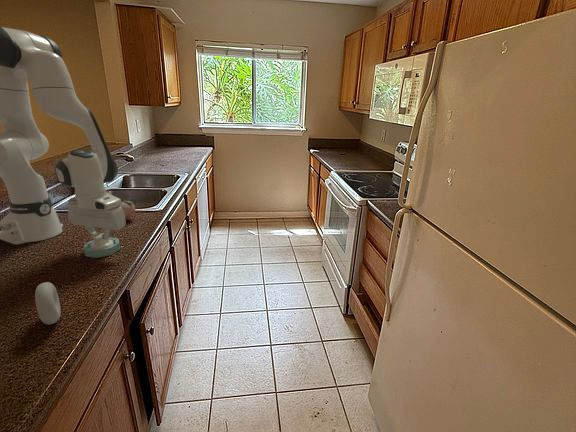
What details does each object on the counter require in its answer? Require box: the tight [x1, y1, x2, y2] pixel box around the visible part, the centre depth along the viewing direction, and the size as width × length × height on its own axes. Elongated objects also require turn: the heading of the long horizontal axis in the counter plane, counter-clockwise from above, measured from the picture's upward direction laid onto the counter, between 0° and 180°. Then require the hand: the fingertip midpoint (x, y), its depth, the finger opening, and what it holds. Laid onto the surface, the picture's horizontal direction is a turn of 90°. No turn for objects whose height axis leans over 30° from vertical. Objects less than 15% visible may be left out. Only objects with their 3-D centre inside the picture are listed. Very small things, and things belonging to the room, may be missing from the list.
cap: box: [90, 232, 114, 250], centre depth 109 cm, size 7×7×4 cm
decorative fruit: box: [119, 197, 136, 221], centre depth 135 cm, size 9×8×10 cm
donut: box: [34, 281, 62, 326], centre depth 74 cm, size 10×4×10 cm, turn 32°
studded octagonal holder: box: [83, 236, 121, 259], centre depth 110 cm, size 11×11×2 cm
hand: (100, 238), depth 109 cm, fingers open, 3 cm apart
